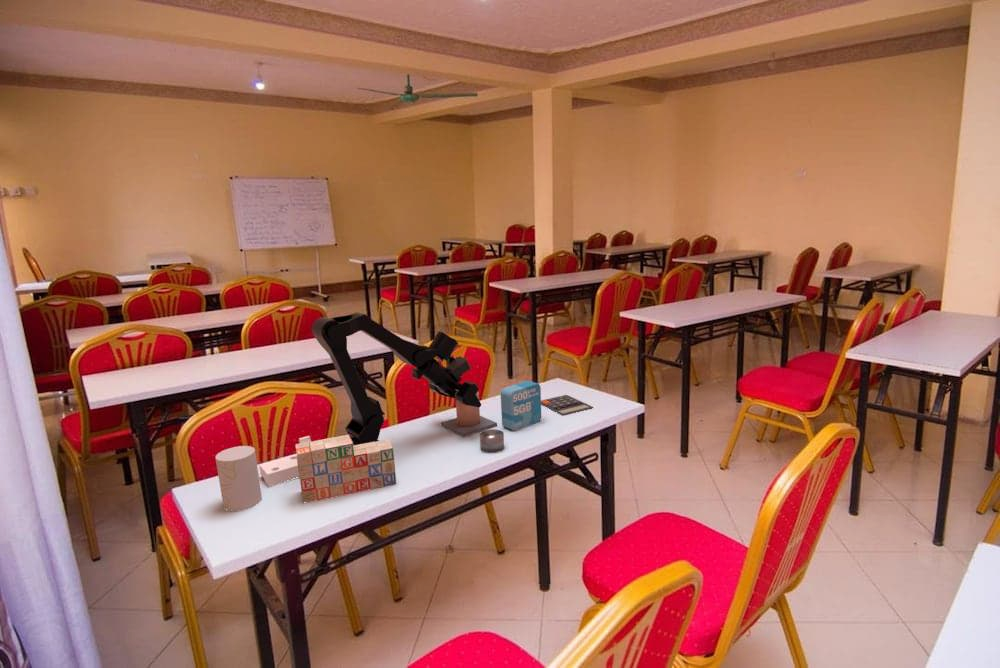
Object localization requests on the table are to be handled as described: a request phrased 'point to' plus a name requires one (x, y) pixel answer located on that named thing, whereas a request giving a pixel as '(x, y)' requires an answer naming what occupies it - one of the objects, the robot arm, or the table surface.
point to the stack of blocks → (343, 467)
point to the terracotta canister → (467, 414)
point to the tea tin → (491, 441)
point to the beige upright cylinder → (238, 478)
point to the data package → (521, 405)
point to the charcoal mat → (470, 430)
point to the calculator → (565, 405)
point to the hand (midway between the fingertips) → (471, 402)
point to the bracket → (281, 468)
